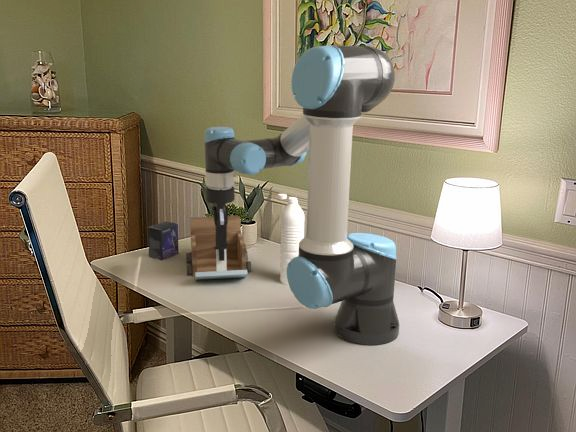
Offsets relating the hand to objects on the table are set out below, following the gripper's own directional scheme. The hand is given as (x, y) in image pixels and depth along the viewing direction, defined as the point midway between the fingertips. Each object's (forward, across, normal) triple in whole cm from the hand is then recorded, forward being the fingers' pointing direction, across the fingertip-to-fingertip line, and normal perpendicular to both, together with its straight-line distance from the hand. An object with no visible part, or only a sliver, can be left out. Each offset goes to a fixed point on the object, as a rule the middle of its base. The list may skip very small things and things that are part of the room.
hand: (221, 269), depth 170 cm
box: (+6, +26, +16) cm, 31 cm away
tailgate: (+4, +5, 0) cm, 6 cm away
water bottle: (+5, 0, -19) cm, 20 cm away
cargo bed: (+5, +16, 0) cm, 17 cm away
